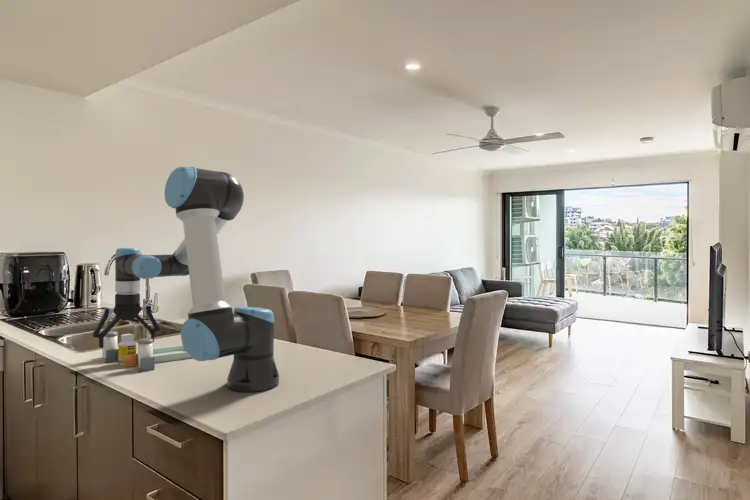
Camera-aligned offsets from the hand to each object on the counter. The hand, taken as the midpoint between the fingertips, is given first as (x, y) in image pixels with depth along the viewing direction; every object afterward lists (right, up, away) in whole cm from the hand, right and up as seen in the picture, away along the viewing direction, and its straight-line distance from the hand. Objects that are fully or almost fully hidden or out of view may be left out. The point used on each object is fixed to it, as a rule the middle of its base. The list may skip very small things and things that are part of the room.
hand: (127, 354), depth 156 cm
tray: (+11, -3, +9) cm, 14 cm away
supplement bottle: (0, -3, 0) cm, 3 cm away
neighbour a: (+9, -3, -5) cm, 10 cm away
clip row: (0, -3, 0) cm, 3 cm away
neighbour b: (-9, -3, +5) cm, 10 cm away
